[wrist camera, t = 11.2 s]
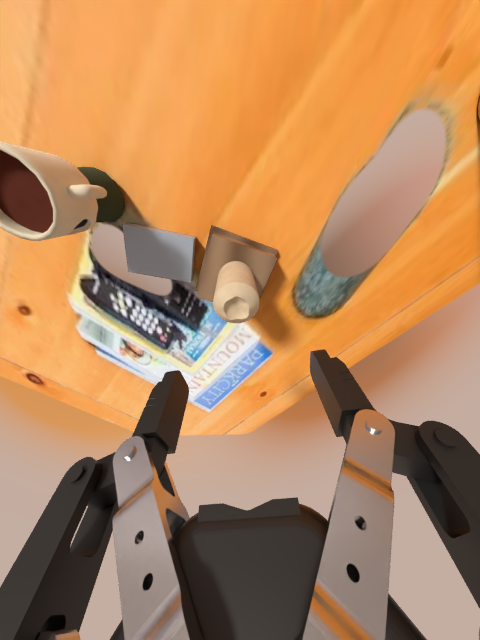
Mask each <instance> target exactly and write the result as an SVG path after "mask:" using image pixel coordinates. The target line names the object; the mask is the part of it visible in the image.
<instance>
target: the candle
mask: <svg viewBox="0 0 480 640" xmlns="http://www.w3.org/2000/svg"><path fill="white" fill-rule="evenodd" d="M259 305H260V300H259V295H258V292H257V288H256V284H255V280H254V276H253V273H252V271H251V269H250V268H249V267H248V266H247V265H246V264H245V263H243V262H240V261H232V262H229V263H227V264H225V265H224V266H223V267H222V268H221V269H220V271H219V274H218V279H217V284H216V289H215V294H214V299H213V306H214V310H215V312H216V313H217V315H218V316H219V317H220V318H222V319H223V320H225V321H227V322H230V323H242V322H246V321H248V320H250V319H251V318H252V317H254V315H255V314H256V313H257V311H258V309H259Z"/></svg>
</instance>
